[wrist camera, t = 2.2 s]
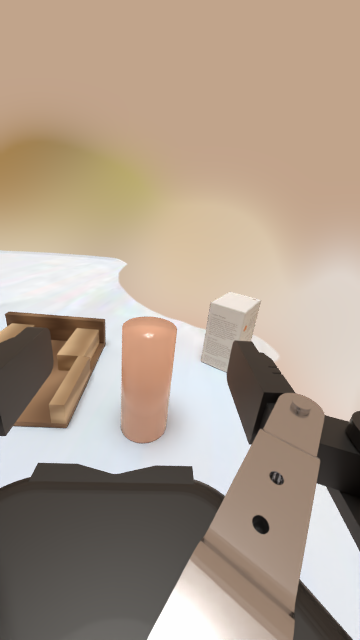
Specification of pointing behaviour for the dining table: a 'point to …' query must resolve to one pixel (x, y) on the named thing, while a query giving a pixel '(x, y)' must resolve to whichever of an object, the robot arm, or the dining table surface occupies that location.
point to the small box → (228, 327)
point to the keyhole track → (60, 364)
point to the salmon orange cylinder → (146, 377)
